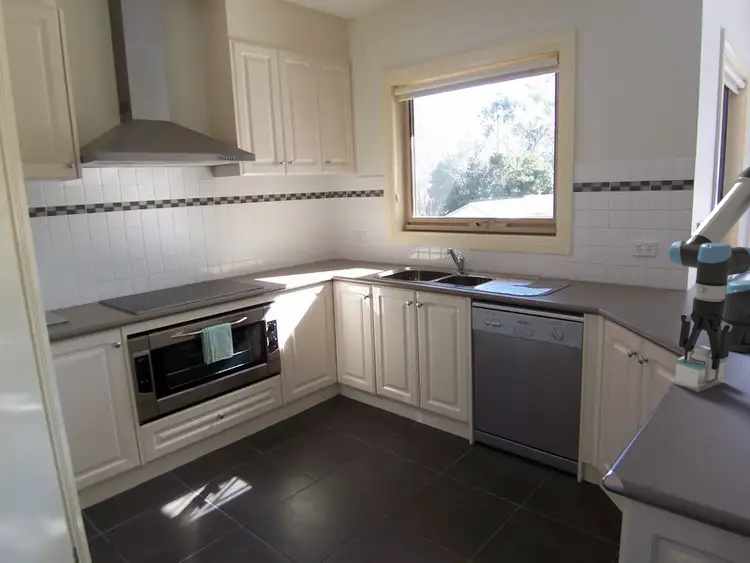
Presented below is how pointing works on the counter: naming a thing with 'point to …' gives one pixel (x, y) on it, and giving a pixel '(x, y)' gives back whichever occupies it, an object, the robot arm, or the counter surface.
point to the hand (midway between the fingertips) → (699, 375)
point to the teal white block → (697, 375)
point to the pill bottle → (701, 356)
